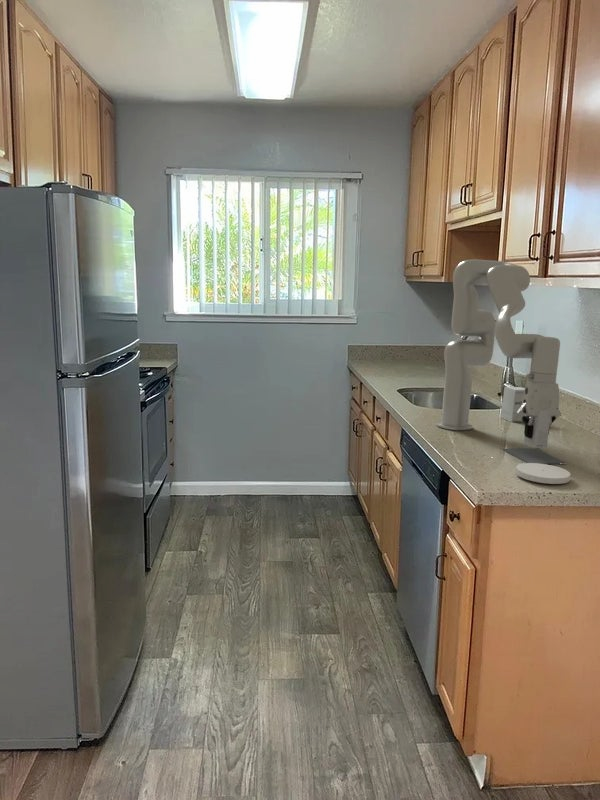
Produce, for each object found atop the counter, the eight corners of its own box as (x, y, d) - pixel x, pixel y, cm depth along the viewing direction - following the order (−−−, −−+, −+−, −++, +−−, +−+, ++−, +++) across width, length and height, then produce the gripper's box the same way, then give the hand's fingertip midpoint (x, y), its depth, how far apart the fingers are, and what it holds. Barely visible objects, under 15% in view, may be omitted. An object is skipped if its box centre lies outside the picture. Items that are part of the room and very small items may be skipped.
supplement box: (511, 422, 245) (515, 389, 243) (500, 418, 252) (503, 386, 250) (528, 421, 247) (531, 389, 245) (516, 417, 254) (520, 386, 252)
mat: (503, 450, 203) (503, 448, 203) (537, 449, 205) (538, 448, 205) (529, 464, 188) (529, 463, 187) (566, 464, 190) (566, 462, 190)
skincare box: (547, 448, 193) (551, 409, 191) (535, 448, 192) (539, 409, 190) (535, 443, 199) (539, 405, 197) (523, 443, 198) (527, 405, 196)
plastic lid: (504, 475, 177) (505, 466, 177) (538, 469, 184) (539, 460, 184) (545, 490, 166) (547, 481, 165) (580, 483, 173) (581, 474, 172)
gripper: (523, 379, 187) (516, 440, 190) (575, 380, 190) (568, 440, 193) (510, 375, 194) (504, 434, 197) (561, 376, 197) (554, 434, 200)
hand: (536, 436), depth 195 cm, fingers closed on skincare box, 4 cm apart
